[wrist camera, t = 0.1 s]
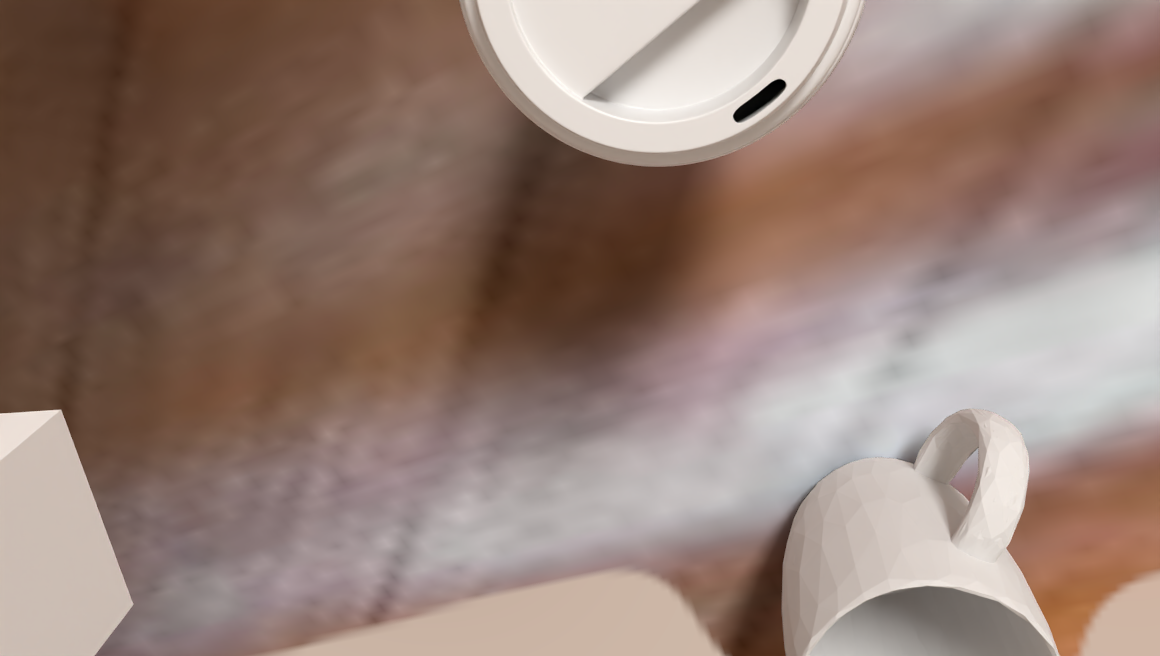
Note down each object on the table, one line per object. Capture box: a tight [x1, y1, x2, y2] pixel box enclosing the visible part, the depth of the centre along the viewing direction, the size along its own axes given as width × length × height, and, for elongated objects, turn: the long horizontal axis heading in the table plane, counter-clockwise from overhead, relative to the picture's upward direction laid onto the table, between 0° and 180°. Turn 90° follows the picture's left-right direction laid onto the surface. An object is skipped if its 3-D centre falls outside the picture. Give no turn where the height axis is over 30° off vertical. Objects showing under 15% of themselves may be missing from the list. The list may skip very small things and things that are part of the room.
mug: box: [782, 409, 1059, 656], centre depth 38 cm, size 13×9×10 cm
